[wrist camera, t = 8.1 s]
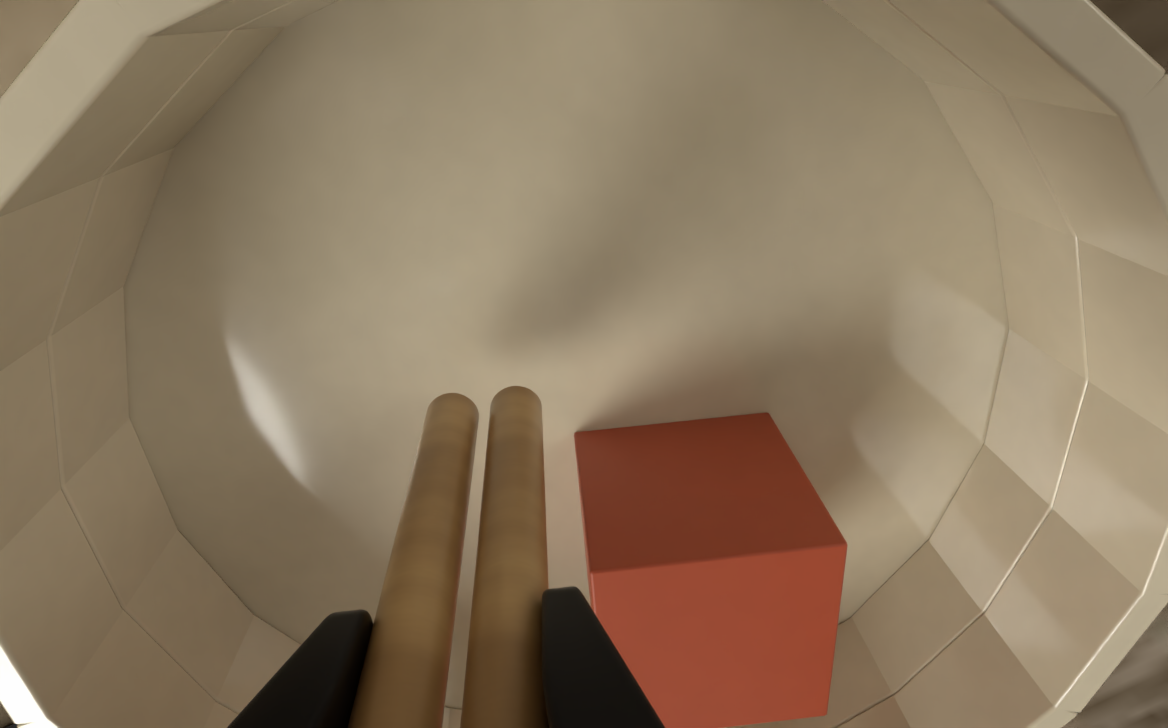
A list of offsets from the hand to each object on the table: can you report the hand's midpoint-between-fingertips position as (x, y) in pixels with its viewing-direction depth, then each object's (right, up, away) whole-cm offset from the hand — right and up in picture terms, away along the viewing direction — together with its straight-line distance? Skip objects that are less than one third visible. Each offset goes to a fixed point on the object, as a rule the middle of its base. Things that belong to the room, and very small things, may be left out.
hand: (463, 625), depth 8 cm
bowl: (+1, +2, +7) cm, 7 cm away
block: (+3, 0, +7) cm, 8 cm away
